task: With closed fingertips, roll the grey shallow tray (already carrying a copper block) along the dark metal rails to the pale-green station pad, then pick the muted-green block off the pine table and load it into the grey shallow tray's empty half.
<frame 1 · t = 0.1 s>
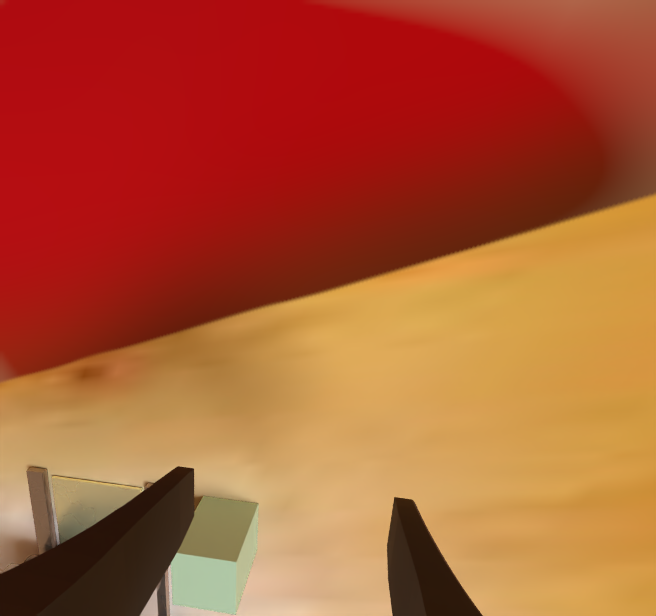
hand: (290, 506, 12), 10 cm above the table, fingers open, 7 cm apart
green block: (230, 522, 25), on the table
rails: (104, 558, 27), on the table
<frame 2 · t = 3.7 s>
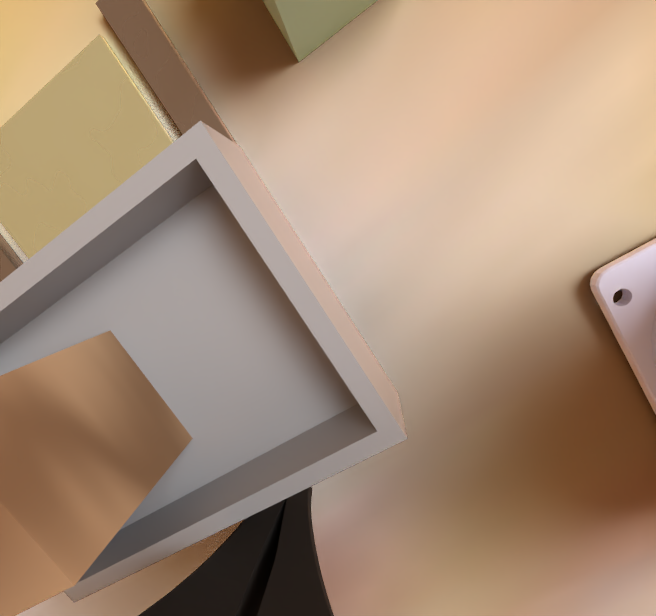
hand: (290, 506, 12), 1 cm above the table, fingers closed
grey shallow tray: (166, 377, 10), point 3 cm above the table, slide at 0.4 cm, touching gripper, copper block
rails: (160, 287, 12), on the table
copper block: (104, 415, 11), point 3 cm above the table, touching grey shallow tray
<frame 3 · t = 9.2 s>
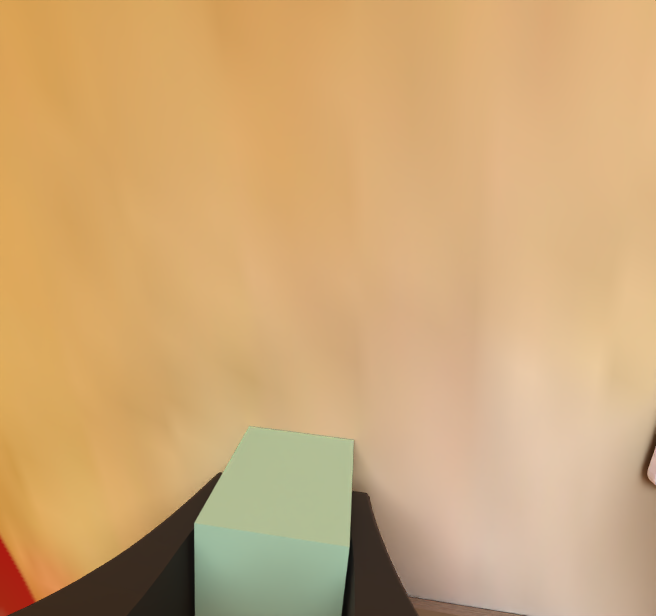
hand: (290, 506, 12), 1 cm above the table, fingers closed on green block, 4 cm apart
green block: (297, 478, 14), on the table, touching gripper
when the fingers open (5 cm above the table, at t = 11.7 s): green block stays where it is, resting on grey shallow tray, copper block.
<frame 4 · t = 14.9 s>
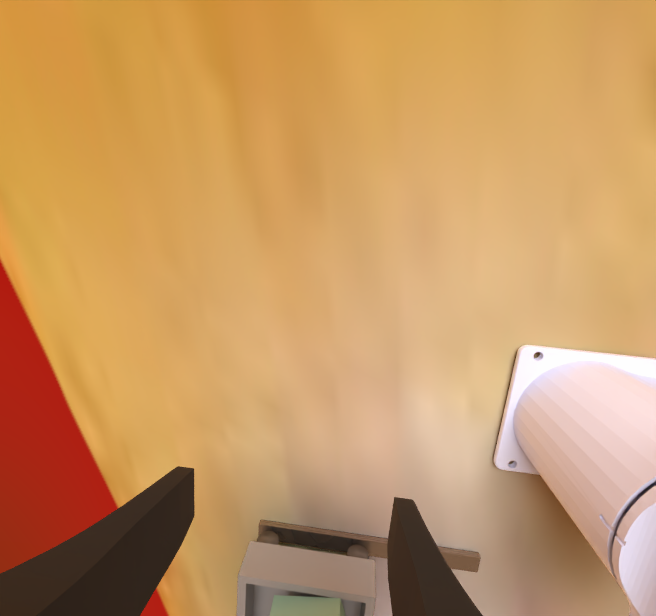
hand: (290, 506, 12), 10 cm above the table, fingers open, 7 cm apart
green block: (313, 614, 21), point 4 cm above the table, tilted 13°, touching grey shallow tray, copper block
rails: (359, 593, 25), on the table
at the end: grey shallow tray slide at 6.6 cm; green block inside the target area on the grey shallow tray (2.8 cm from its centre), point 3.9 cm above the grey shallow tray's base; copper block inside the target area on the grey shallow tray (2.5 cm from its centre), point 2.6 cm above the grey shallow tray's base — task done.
